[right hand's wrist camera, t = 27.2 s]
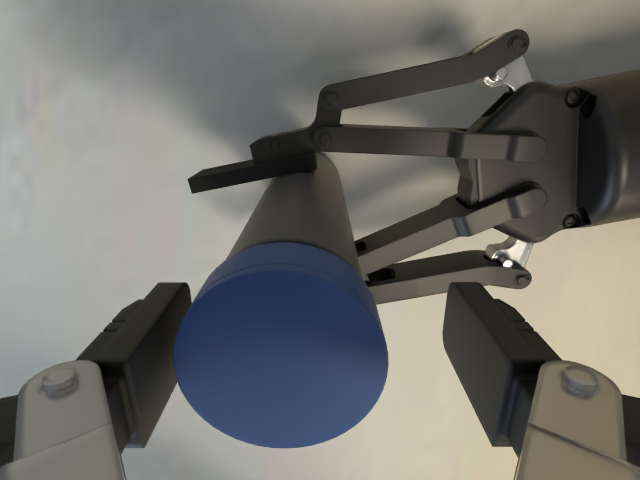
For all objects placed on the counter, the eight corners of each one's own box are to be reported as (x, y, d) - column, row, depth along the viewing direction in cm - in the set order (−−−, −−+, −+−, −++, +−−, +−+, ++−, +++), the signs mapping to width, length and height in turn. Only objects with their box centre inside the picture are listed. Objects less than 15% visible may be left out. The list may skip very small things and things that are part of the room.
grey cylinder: (353, 187, 28) (411, 350, 10) (304, 227, 29) (279, 439, 11) (310, 136, 27) (290, 221, 9) (261, 180, 28) (155, 334, 10)
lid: (416, 310, 10) (433, 349, 9) (307, 426, 12) (305, 477, 10) (260, 203, 9) (249, 225, 8) (161, 342, 11) (133, 386, 9)
